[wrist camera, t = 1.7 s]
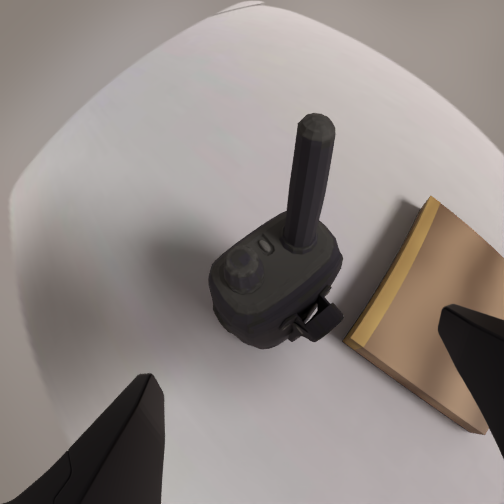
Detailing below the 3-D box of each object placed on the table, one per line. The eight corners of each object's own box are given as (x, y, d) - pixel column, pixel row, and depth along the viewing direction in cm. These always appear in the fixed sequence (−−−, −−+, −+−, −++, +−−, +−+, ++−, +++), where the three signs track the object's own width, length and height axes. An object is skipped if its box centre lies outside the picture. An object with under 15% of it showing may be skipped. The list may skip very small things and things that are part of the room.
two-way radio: (291, 272, 19) (323, 66, 6) (334, 322, 18) (477, 185, 4) (225, 322, 18) (105, 180, 5) (267, 376, 17) (252, 408, 3)
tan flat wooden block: (522, 298, 17) (536, 292, 15) (470, 432, 13) (485, 435, 11) (420, 208, 21) (430, 195, 19) (342, 341, 17) (350, 337, 15)
